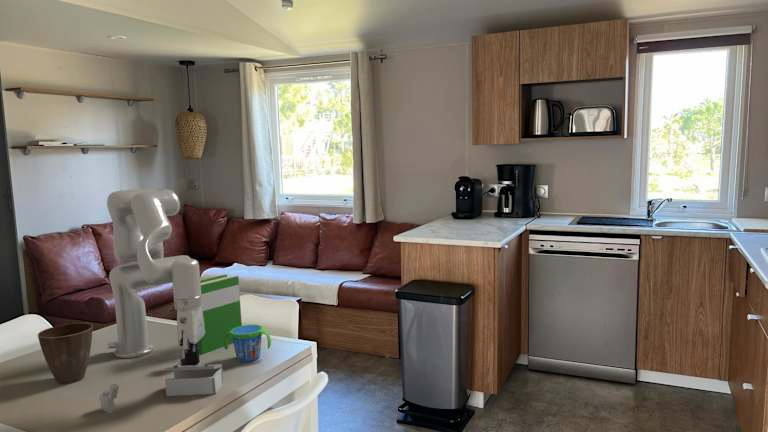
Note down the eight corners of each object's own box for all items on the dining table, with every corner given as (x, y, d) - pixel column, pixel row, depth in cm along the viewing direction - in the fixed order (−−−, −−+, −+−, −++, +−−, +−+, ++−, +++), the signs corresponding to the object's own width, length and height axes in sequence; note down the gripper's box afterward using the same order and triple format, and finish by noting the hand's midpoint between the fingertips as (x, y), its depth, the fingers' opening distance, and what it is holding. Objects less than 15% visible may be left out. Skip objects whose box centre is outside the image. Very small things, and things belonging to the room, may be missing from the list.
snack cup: (219, 363, 185) (217, 333, 183) (233, 352, 195) (231, 323, 194) (264, 365, 182) (262, 334, 180) (276, 353, 192) (274, 324, 191)
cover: (164, 371, 160) (165, 366, 160) (175, 368, 168) (175, 364, 168) (213, 369, 160) (214, 364, 160) (222, 367, 168) (222, 362, 168)
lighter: (100, 409, 154) (98, 381, 153) (106, 406, 155) (104, 378, 154) (115, 415, 150) (112, 386, 149) (121, 412, 151) (118, 384, 150)
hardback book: (229, 336, 212) (225, 274, 210) (242, 339, 208) (238, 276, 205) (189, 350, 198) (184, 284, 196) (202, 354, 194) (197, 286, 191)
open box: (166, 396, 161) (165, 379, 160) (176, 384, 168) (175, 369, 168) (215, 393, 161) (214, 377, 160) (223, 382, 169) (222, 367, 168)
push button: (179, 371, 179) (177, 341, 178) (173, 367, 183) (171, 337, 182) (199, 365, 183) (197, 336, 182) (193, 361, 187) (191, 332, 186)
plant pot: (40, 378, 178) (34, 329, 176) (92, 366, 186) (87, 319, 185) (46, 393, 166) (40, 341, 164) (101, 379, 175) (96, 329, 173)
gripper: (192, 308, 154) (197, 373, 156) (209, 295, 169) (213, 354, 170) (165, 310, 154) (170, 374, 156) (184, 296, 169) (189, 355, 170)
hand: (193, 364), depth 163 cm, fingers closed
